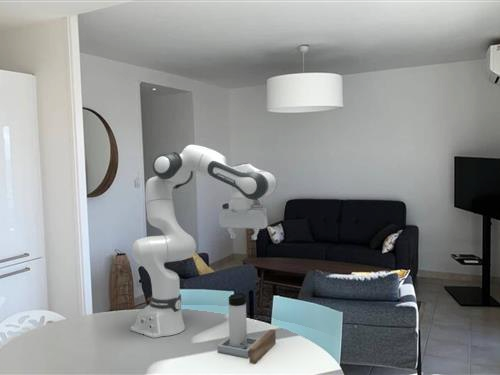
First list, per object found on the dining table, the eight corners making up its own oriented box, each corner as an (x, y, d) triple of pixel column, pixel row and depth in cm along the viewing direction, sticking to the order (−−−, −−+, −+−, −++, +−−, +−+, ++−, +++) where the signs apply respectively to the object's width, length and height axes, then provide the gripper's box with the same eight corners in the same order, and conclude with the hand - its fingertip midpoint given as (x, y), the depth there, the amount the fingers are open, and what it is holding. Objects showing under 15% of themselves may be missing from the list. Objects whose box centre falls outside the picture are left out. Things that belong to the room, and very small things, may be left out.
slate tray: (217, 352, 159) (217, 345, 158) (232, 340, 168) (232, 334, 168) (247, 358, 153) (247, 351, 153) (260, 346, 163) (260, 339, 163)
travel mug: (246, 352, 157) (244, 297, 155) (228, 351, 158) (226, 296, 157) (249, 345, 163) (248, 291, 162) (231, 344, 164) (230, 291, 163)
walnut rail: (249, 362, 150) (249, 348, 150) (270, 342, 166) (270, 329, 166) (255, 363, 149) (254, 349, 149) (275, 343, 165) (275, 330, 165)
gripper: (269, 203, 174) (270, 238, 175) (224, 203, 183) (225, 236, 184) (262, 205, 168) (264, 241, 169) (216, 204, 177) (217, 239, 178)
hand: (243, 238), depth 176 cm, fingers open, 8 cm apart
